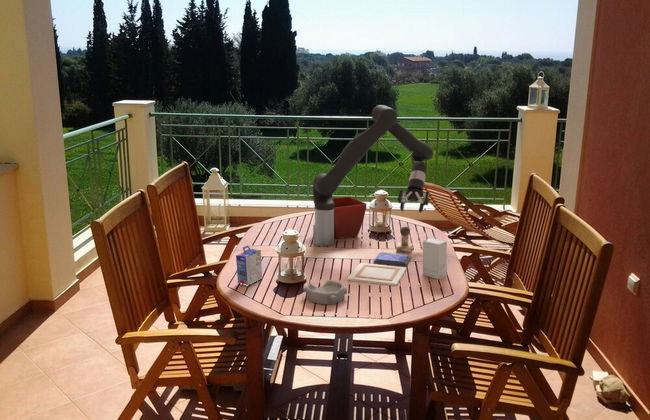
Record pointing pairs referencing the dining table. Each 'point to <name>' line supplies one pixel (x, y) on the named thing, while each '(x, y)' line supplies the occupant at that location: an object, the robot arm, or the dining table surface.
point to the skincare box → (435, 258)
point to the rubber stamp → (404, 241)
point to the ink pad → (392, 259)
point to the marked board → (377, 274)
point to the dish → (326, 292)
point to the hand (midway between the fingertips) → (410, 211)
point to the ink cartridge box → (249, 266)
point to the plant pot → (348, 216)
